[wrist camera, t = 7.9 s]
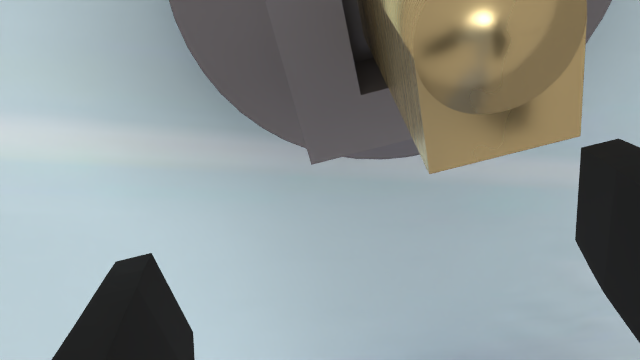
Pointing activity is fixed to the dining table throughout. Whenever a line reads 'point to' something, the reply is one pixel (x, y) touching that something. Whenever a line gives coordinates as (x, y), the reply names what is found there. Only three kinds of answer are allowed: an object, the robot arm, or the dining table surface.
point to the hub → (304, 72)
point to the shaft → (480, 73)
